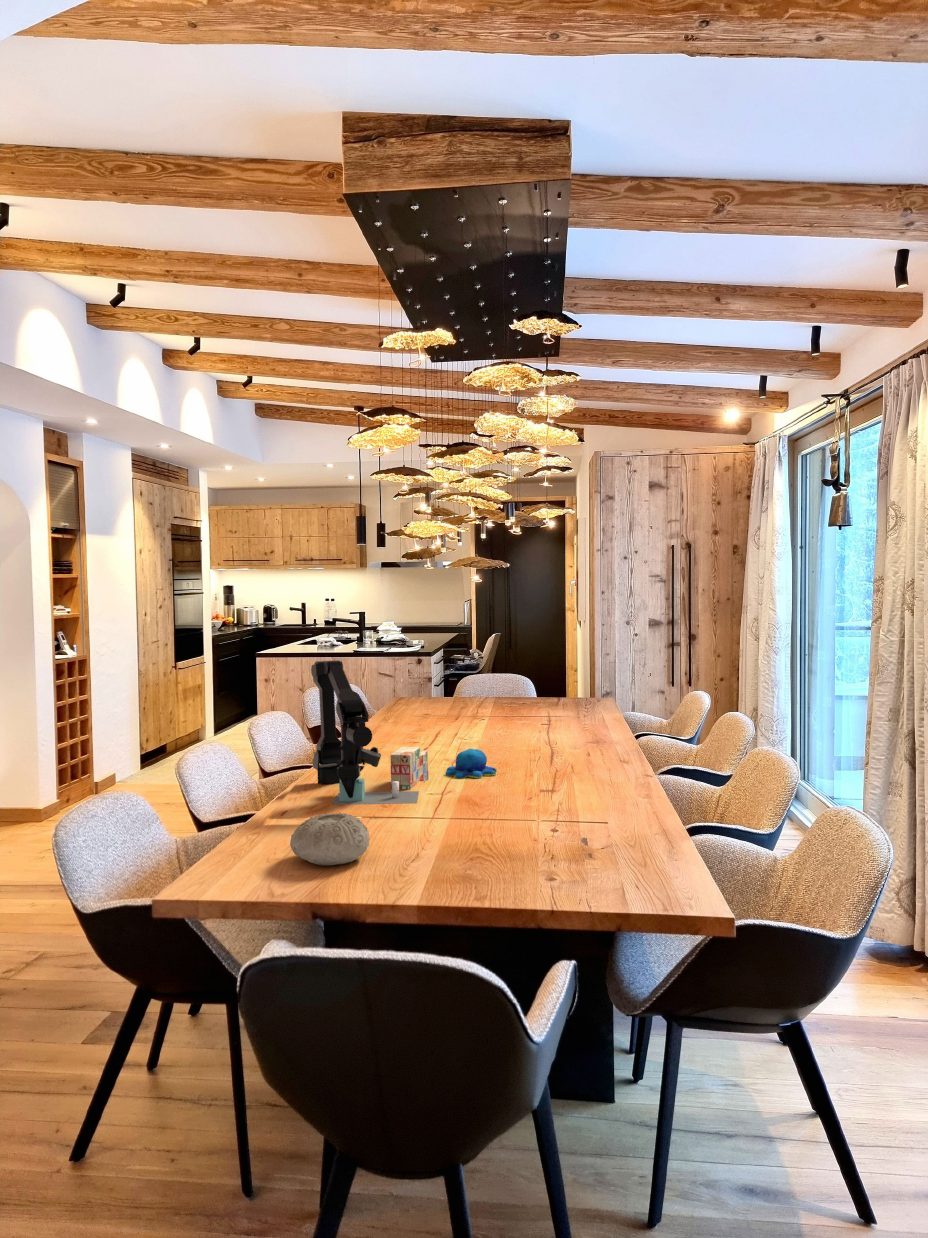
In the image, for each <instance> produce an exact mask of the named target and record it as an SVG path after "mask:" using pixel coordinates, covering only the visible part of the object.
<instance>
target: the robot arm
mask: <svg viewBox="0 0 928 1238" xmlns="http://www.w3.org/2000/svg"><path fill="white" fill-rule="evenodd" d="M343 663H344V662H343V661H342V660H319V661H318V660H317V661H315V662H314V664H312V665H311V668H310V673H311V676H312V678H313V683H314V684H315V686H316V687H317V688H318V695H319V713H320V715H319V718H320V737H319V739H318V742H317V743H316V750H315V752H314V755H313V759H312V767H313V769H315V770H316V771H317V785H324V786H325V785H334V784H335V785H336V784H339V783H340V782H342V784H343V786H344V788H345V790H346V792H347V795H348V797H349V798H352V797H353V793H354V787H355V780H356V779H357V778H360V776H361V771H363V770H364V768H365V765H370V766H371V767H373V768H377V767H378V766H379V764H380V760H381V758H382V754H381V753H379V748H378V747H375V746H372V747H371V748H370V749H368V748H367V749H366V748H365V747H367V746H368V745H369V744H370V743H371V742H372V740H373V732H372V730H371V729H370V728H369V727H368V726H366V723H368V722H369V717H370V715H369V712H368V710H367V707H366V704H365V702H364V701H363V699H362V697H361V696H360V694H359V693H358V692H356V691H355V690H353V689H352V686H351V684H350V682H349V680H348V677H347V675H346V672H345V671H344V664H343ZM335 695H336V696H335ZM335 697H336V698H337V701H336V700H335ZM335 701H336V702H335ZM335 703H336V705H335ZM336 715H337V717H338V720H339V723H340V738H339V737H338V736H337V726H336V721H337V720H336Z"/></svg>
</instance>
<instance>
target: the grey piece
mask: <svg viewBox="0 0 928 1238" xmlns="http://www.w3.org/2000/svg"><path fill="white" fill-rule="evenodd" d="M419 793H420V791H419V790H417V791H415V790H412V791H410V790H407V791H403V790H402V791H400V789H399V782H398V781H393V782H392V789H391V791H365V796H364V798H363V801H340V795H339V792H338V793H337V795H336V797H335V798H334V799H333V802H332V804H331V806H337V805H338V806H342V805H344V806H345V805H347V806H348V805H349V806H351V805H391V804H392V805H397V804H398V805H399V804H418V800H419V799H418V798H419Z"/></svg>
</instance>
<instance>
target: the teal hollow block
mask: <svg viewBox="0 0 928 1238" xmlns="http://www.w3.org/2000/svg"><path fill="white" fill-rule="evenodd" d="M365 784H366V783H365V778H361V777H358V778H357V779H356V780H355V787H354V793H353V797H352V798H349V797H348V795H347V792H346V790H345V788H344V786H343V784H342V782H340V783H338V787H339V789H338V790H339V792H338V793H339V795H340V801H363V798H364V796H365V792H366V789H365Z"/></svg>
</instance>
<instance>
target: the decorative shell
mask: <svg viewBox="0 0 928 1238" xmlns="http://www.w3.org/2000/svg"><path fill="white" fill-rule="evenodd" d="M290 836H291V837H290V840H289V846H290V850H291V851H292V852H293V853H294V855H295V856H297V857H298V858H301V859H302V860H304V861H305V860H306V861H308V862H309V863H312V864H314V865H319V866H325V867H326V866H336V865H345V864H347V863H351V862H353V861H355V860H358V858H359V857H361V856H363V855H364V854H365V853H366V852H367V850H368V848H369V847H370V835H369V830H368V827H366V825H365V824H364V822H362V821H361V819H360V818H359V817H356V816H355V815H354V816H353V815H352V814H350V813H349V814H348V813H345V812H340V811H339V812H338V813H337V812H336V813H333V812H332V813H327V812H325V813H322V814H318V815H315V816H313V817H312V816H310V818H308V819H306V820H305V821H303V822H302V823H300V824H299V825H298V826H296V827H295V830H294V831H293V832H292V834H291V835H290Z"/></svg>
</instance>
